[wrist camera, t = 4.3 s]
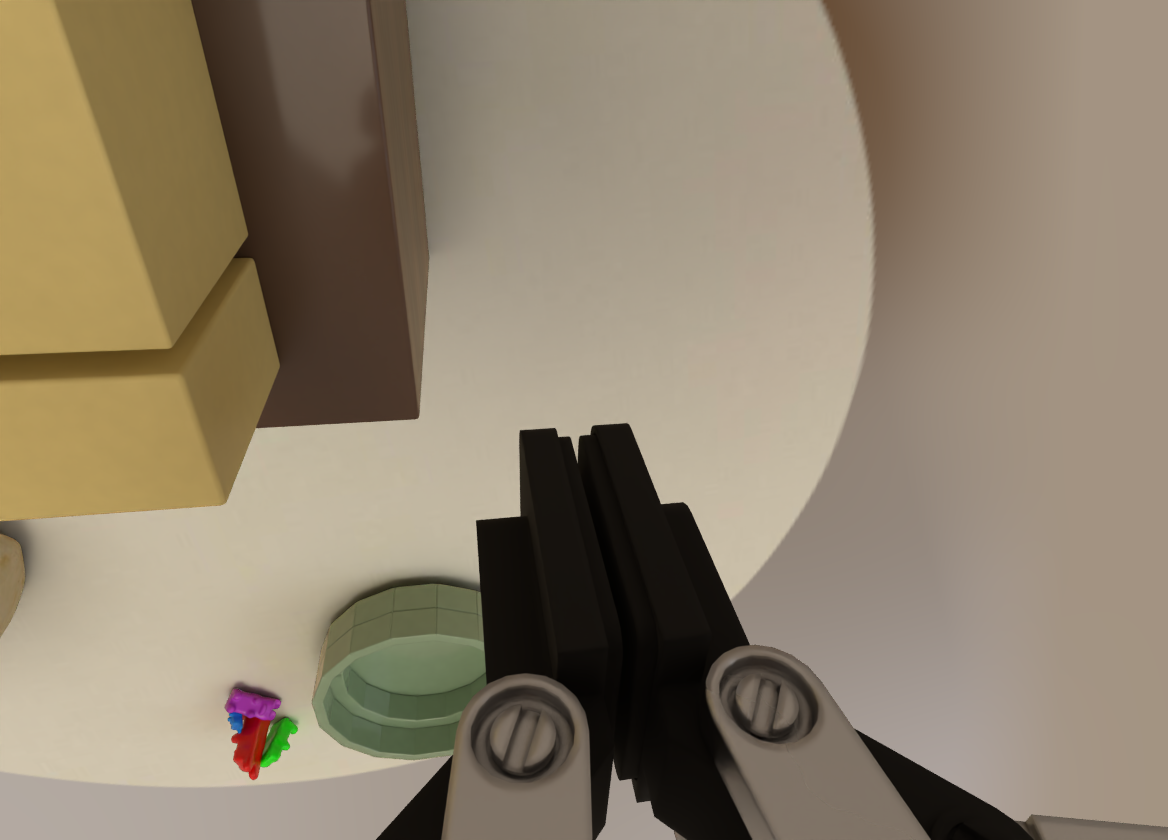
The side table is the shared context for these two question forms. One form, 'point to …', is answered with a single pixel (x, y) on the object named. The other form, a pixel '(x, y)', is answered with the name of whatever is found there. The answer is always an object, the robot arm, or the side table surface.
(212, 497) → the butter slice
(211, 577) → the side table surface
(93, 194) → the butter
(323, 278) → the chopping block
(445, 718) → the dish
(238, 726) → the multicolored plastic block cluster
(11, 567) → the food model
